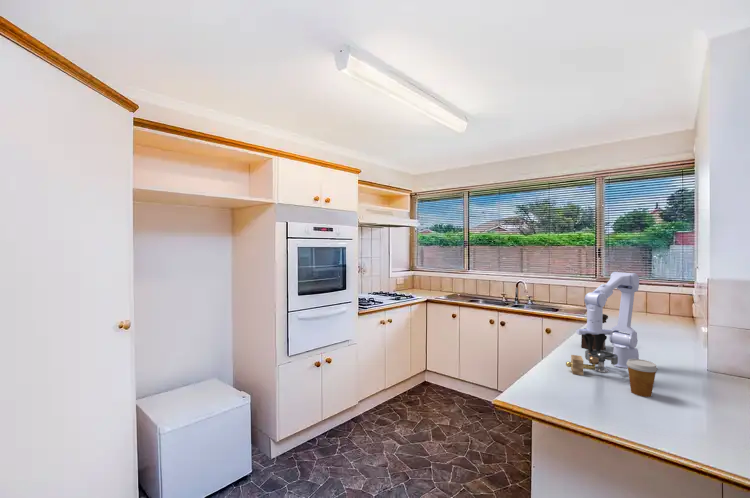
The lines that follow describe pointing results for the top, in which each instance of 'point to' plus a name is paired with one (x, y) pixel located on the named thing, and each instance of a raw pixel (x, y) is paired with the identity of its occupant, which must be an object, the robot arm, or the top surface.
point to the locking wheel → (602, 356)
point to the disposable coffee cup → (641, 376)
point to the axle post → (601, 367)
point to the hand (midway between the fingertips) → (594, 350)
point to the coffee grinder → (583, 342)
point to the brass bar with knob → (592, 360)
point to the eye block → (577, 364)
